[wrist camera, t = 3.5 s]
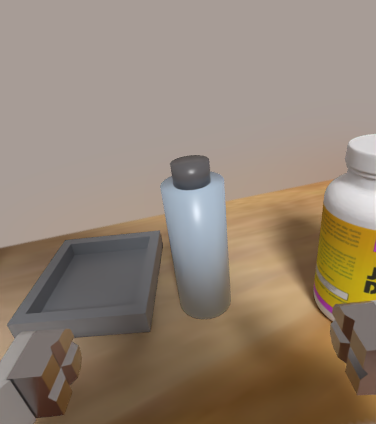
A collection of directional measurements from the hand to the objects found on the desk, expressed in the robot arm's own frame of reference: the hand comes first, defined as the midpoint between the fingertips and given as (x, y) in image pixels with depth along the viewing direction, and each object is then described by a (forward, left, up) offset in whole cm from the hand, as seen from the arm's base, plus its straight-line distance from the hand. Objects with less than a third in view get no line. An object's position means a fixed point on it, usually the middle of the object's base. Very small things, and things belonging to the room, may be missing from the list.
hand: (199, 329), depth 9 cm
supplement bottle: (+12, +11, -11) cm, 19 cm away
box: (-10, +16, -11) cm, 22 cm away
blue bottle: (0, +13, -11) cm, 17 cm away
